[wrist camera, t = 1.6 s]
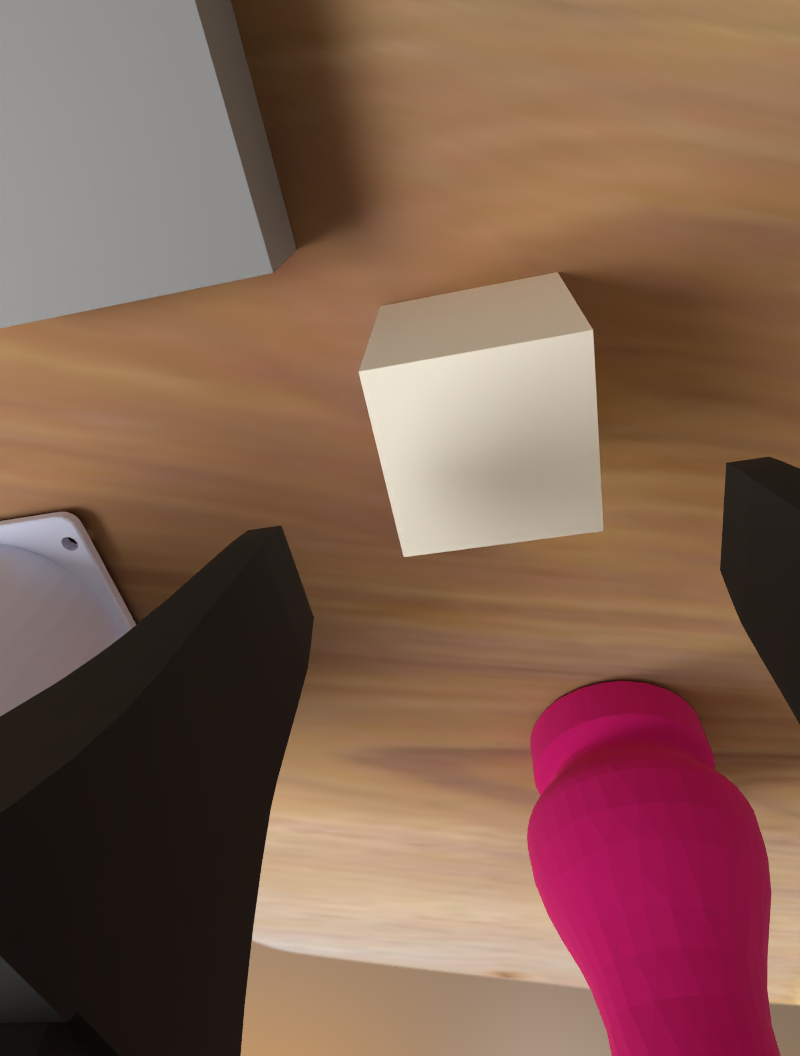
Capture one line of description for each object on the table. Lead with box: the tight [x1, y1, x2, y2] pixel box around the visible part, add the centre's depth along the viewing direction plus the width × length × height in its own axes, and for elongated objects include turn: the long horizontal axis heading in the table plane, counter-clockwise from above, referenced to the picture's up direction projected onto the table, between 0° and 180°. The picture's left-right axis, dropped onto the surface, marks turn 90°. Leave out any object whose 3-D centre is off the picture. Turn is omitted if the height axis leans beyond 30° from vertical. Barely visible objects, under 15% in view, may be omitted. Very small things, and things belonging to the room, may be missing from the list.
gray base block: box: [0, 0, 297, 328], centre depth 14 cm, size 8×8×3 cm
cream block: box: [359, 272, 604, 557], centre depth 16 cm, size 4×4×5 cm
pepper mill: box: [527, 681, 780, 1056], centre depth 17 cm, size 7×7×20 cm
